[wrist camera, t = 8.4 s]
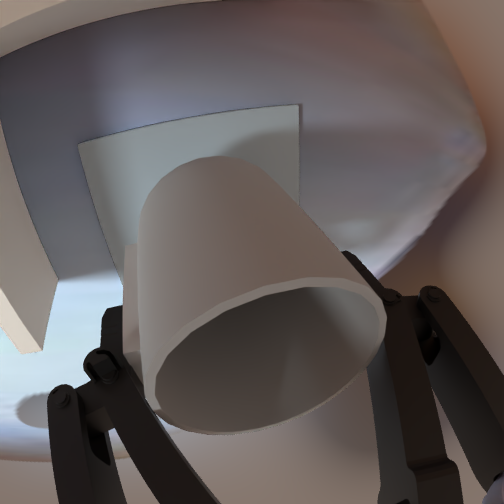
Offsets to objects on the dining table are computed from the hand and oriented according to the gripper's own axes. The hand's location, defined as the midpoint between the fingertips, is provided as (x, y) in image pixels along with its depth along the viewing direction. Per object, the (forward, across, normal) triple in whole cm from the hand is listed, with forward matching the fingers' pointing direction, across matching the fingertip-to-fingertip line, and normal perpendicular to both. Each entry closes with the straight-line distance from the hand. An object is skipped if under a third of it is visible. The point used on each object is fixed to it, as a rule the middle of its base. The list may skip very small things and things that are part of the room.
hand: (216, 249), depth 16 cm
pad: (+4, 0, 0) cm, 4 cm away
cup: (0, 0, 0) cm, 1 cm away
